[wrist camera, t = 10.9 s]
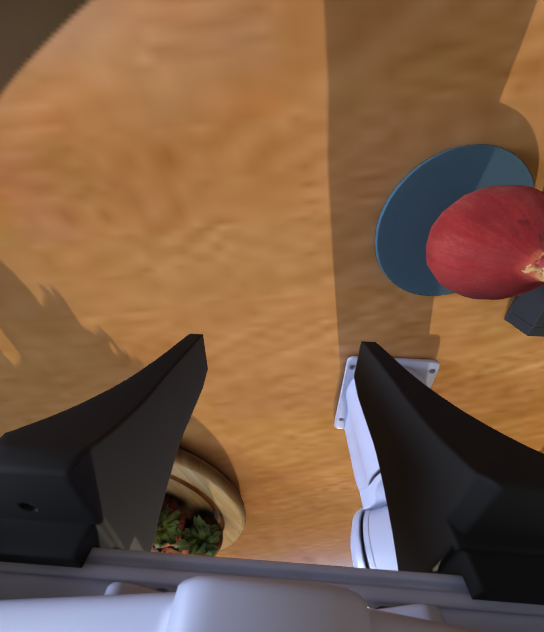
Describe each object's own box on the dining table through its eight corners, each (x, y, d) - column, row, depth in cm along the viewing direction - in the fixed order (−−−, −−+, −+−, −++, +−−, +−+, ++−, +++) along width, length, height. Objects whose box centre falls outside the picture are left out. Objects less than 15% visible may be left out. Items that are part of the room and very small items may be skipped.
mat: (489, 295, 20) (494, 298, 20) (362, 291, 20) (364, 293, 20) (561, 145, 15) (569, 145, 15) (393, 143, 15) (396, 142, 15)
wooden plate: (150, 555, 50) (127, 620, 43) (-18, 474, 38) (-89, 547, 31) (289, 517, 39) (290, 595, 32) (117, 387, 27) (56, 466, 20)
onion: (518, 181, 16) (699, 194, 9) (479, 272, 19) (592, 336, 12) (419, 180, 16) (519, 192, 9) (396, 270, 19) (458, 331, 12)
